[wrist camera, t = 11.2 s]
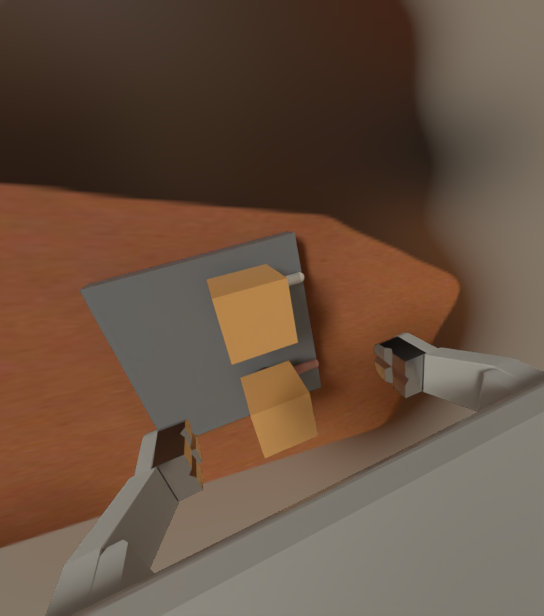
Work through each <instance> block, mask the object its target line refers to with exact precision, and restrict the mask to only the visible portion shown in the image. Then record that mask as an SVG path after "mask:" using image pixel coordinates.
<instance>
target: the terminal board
mask: <svg viewBox="0 0 544 616" xmlns="http://www.w3.org/2000/svg"><path fill="white" fill-rule="evenodd" d="M264 264H267V265H268V266H270V267H271V268H273V269H274V270H276V271H277V272H279V273H281V274H282V275H284V276H285V277H287V279H288V285H289V291H290V297H291V303H292V309H293V315H294V321H295V327H296V333H297V339H298V343H295V344H292V345H289V346H286V347H283V348H280V349H277V350H274V351H271V352H268V353H265V354H262V355H260V356H257V357H254V358H251V359H248V360H245V361H242V362H239V363H236V364H233V365H232V364H231V360H230V357H229V354H228V351H227V347H226V344H225V341H224V337H223V334H222V331H221V328H220V324H219V321H218V318H217V314H216V311H215V308H214V305H213V301H212V298H211V294H210V291H209V287H208V283H207V279H211V278H214V277H218V276H222V275H226V274H230V273H234V272H237V271H241V270H245V269H249V268H253V267H257V266H261V265H264ZM304 278H305V277H304V274H303V273H302V272H301V266H300V260H299V254H298V249H297V243H296V237H295V233H294V232H288V231H287V232H283V233H279V234H276V235H272V236H268V237H264V238H260V239H257V240H253V241H249V242H245V243H242V244H238V245H234V246H230V247H226V248H223V249H219V250H215V251H211V252H207V253H204V254H200V255H196V256H192V257H189V258H185V259H181V260H177V261H173V262H170V263H166V264H162V265H158V266H155V267H151V268H147V269H143V270H139V271H136V272H132V273H128V274H124V275H120V276H117V277H113V278H109V279H105V280H102V281H98V282H94V283H90V284H88V285H87V286H85V287H83V288H82V289H80V290H79V291H80V292H81V294H82V296H83V298H84V299H85V301H86V303H87V305H88V307H89V308H90V310H91V312H92V314H93V316H94V317H95V319H96V321H97V323H98V324H99V326H100V328H101V330H102V332H103V333H104V335H105V337H106V339H107V341H108V342H109V344H110V346H111V348H112V350H113V351H114V353H115V355H116V357H117V358H118V360H119V362H120V364H121V366H122V367H123V369H124V371H125V373H126V375H127V376H128V378H129V380H130V382H131V383H132V385H133V387H134V389H135V391H136V392H137V394H138V396H139V398H140V400H141V401H142V403H143V405H144V407H145V408H146V410H147V412H148V414H149V416H150V417H151V419H152V421H153V423H154V425H155V426H156V428H157V430H158V429H160V428H163V427H166V426H168V425H171V424H174V423H176V422H179V421H182V420H185V419H188V420H189V422H190V424H191V426H192V433H193V434H196V436H198V435H200V434H203V433H205V432H208V431H210V430H213V429H216V428H218V427H221V426H223V425H226V424H228V423H231V422H233V421H236V420H239V419H241V418H244V417H246V416H249V415H250V416H251V419H252V422H253V424H254V427H255V430H256V433H257V436H258V439H259V442H260V445H261V448H262V451H263V454H264V457H265V458H267V457H269V456H271V455H274V454H276V453H278V452H281V451H283V450H285V449H288V448H290V447H292V446H295V445H297V444H300V443H302V442H304V441H307V440H309V439H311V438H314V437H316V436H318V433H317V428H316V423H315V418H314V413H313V408H312V403H311V398H310V393H309V392H310V391H313V390H315V389H318V388H320V387H321V382H320V376H319V370H318V366H319V361H318V360H317V359H316V353H315V347H314V341H313V335H312V330H311V324H310V318H309V312H308V307H307V301H306V295H305V289H304V283H303V281H304Z"/></svg>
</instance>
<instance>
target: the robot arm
mask: <svg viewBox="0 0 544 616" xmlns="http://www.w3.org/2000/svg"><path fill="white" fill-rule="evenodd" d="M374 353H375V354H376V355H377V358H376V360H375V368H376V370H377V372H378V374H379V375H380V377H381V378H382V379H383V380H384V381H386V382H389V383H393V388H394V389H395V390H396V391H397V392H399V393H400V394H401V395H402V396H403V397H405V398H407V397H409V396H412V395H414V394H417V393H419V392H421V391H423V392H425V393H428V394H431V395H434V396H436V397H439V398H442V399H444V400H447V401H450V402H453V403H455V404H458V405H461V406H463V407H466V408H469V409H472V410H474V411H477V413H475V414H473V415H471V416H470V417H467V418H465V419H463V420H461V421H459V422H457V423H455V424H453V425H451V426H449V427H447V428H445V429H443V430H441V431H439V432H437V433H435V434H433V435H431V436H429V437H427V438H425V439H423V440H421V441H419V442H417V443H415V444H413V445H412V446H409V447H407V448H405V449H403V450H401V451H399V452H397V453H395V454H394V455H391V456H389V457H388V458H385V459H383V460H381V461H379V462H377V463H375V464H373V465H371V466H369V467H367V468H365V469H363V470H361V471H359V472H357V473H355V474H353V475H351V476H349V477H347V478H345V479H343V480H341V481H339V482H337V483H335V484H333V485H331V486H329V487H327V488H325V489H323V490H321V491H319V492H317V493H315V494H313V495H311V496H309V497H307V498H305V499H303V500H301V501H299V502H297V503H295V504H293V505H291V506H289V507H287V508H285V509H283V510H281V511H279V512H277V513H275V514H273V515H271V516H269V517H267V518H265V519H263V520H261V521H259V522H257V523H255V524H253V525H251V526H249V527H247V528H245V529H243V530H241V531H239V532H237V533H235V534H233V535H231V536H229V537H227V538H225V539H223V540H221V541H219V542H217V543H215V544H213V545H211V546H209V547H207V548H205V549H203V550H201V551H199V552H197V553H195V554H193V555H191V556H189V557H187V558H185V559H183V560H181V561H179V562H177V563H175V564H173V565H171V566H169V567H167V568H165V569H163V570H161V571H159V572H157V573H155V574H154V573H153V572H152V571H151V569H150V567H151V565H152V563H153V560H154V558H155V556H156V554H157V551H158V549H159V547H160V544H161V542H162V540H163V538H164V535H165V533H166V531H167V528H168V526H169V524H170V522H171V520H172V517H173V515H174V513H175V510H176V508H177V506H178V504H179V503H178V502H179V501H181V500H183V499H185V498H187V497H189V496H191V495H193V494H195V493H197V492H200V491H202V490H203V477H202V470H201V468H200V466H199V465H200V463H201V461H202V456H201V449H200V444H199V441H198V439H197V436H196V434H193V433H192V426H191V424H190V422H189V420H188V419H185V420H182V421H179V422H176V423H174V424H171V425H168V426H166V427H163V428H160V429H158V430H155V431H153V432H150V433H147V434H145V435H144V437H143V439H142V444H141V448H140V453H139V457H138V462H137V467H136V471H135V476H134V477H131V478H130V479H129V480H128V481H127V483H126V484H125V485H124V487H123V488H122V489H121V491H120V492H119V493H118V494H117V496H116V497H115V498H114V500H113V501H112V502H111V504H110V505H109V506H108V508H107V509H106V510H105V512H104V513H103V514H102V516H101V517H100V518H99V520H98V521H97V522H96V524H95V525H94V526H93V528H92V529H91V530H90V532H89V533H88V534H87V536H86V537H85V538H84V540H83V541H82V542H81V543H80V545H79V546H78V548H77V549H76V550H75V552H74V553H73V554H72V555H71V557H70V558H69V559H68V561H67V562H66V563H65V565H64V567H63V569H62V572H61V575H60V578H59V581H58V583H57V586H56V589H55V591H54V594H53V597H52V599H51V602H50V605H49V608H48V610H47V613H46V616H544V371H541V370H539V369H536V368H534V367H532V366H530V365H528V364H525V363H523V362H521V361H519V360H516V359H514V358H508V357H501V356H495V355H488V354H482V353H475V352H468V351H461V350H455V349H448V348H436V347H434V346H432V345H430V344H428V343H426V342H425V341H423V340H421V339H419V338H417V337H415V336H413V335H411V334H409V333H402V334H400V335H397V336H395V337H393V338H391V339H388V340H386V341H383V342H381V343H378V344H376V345H375V347H374Z"/></svg>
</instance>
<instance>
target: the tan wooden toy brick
mask: <svg viewBox="0 0 544 616" xmlns="http://www.w3.org/2000/svg"><path fill="white" fill-rule="evenodd" d="M207 283H208V287H209V291H210V294H211V298H212V301H213V305H214V308H215V311H216V314H217V318H218V321H219V324H220V328H221V331H222V334H223V337H224V341H225V344H226V347H227V351H228V354H229V357H230V360H231V364H232V365H233V364H236V363H239V362H242V361H245V360H248V359H251V358H254V357H257V356H260V355H262V354H265V353H268V352H271V351H274V350H277V349H280V348H283V347H286V346H289V345H292V344H295V343H298V339H297V333H296V327H295V321H294V315H293V309H292V303H291V297H290V291H289V285H288V279H287V277H285V276H284V275H282V274H281V273H279V272H277V271H276V270H274V269H273V268H271V267H270V266H268V265H267V264H264V265H261V266H257V267H253V268H249V269H245V270H241V271H237V272H234V273H230V274H226V275H222V276H218V277H214V278H211V279H207Z"/></svg>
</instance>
